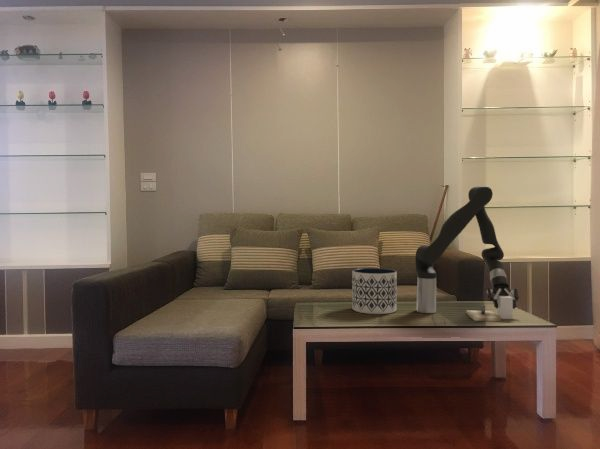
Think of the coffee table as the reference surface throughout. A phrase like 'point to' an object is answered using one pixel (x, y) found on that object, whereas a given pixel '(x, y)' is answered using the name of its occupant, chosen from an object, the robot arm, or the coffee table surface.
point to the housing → (505, 307)
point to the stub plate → (483, 315)
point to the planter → (374, 290)
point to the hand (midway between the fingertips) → (505, 307)
